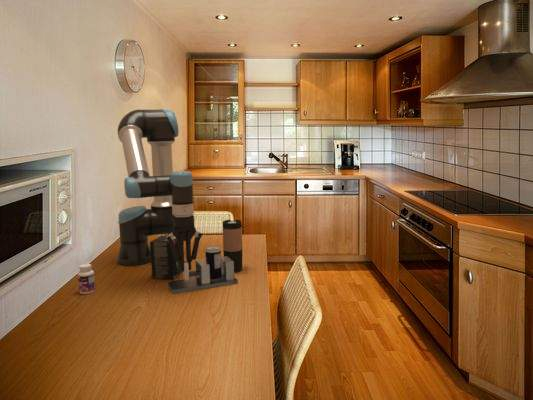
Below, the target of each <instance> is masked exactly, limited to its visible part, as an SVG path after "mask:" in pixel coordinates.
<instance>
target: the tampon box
mask: <svg viewBox="0 0 533 400" xmlns="http://www.w3.org/2000/svg"><path fill="white" fill-rule="evenodd" d="M166 236H167V235H159V236H158V237H156V238H155V239H152V240H150V241H149V246H150V252H151V262H150V263H151V265H150V266H151V278H152V279H162V280H163V279H165V280H174V279H176V278H177V277H178V276H180V275H181V274H183V271H181V270H180V262H176V261H175V259H174V256H173V253H172V250H171V246H170V243H169V241H168V240H167V238H166ZM173 238H174V239H173V242H174V245H175V248H176V251H177V254H178V258H179V243H178V240H177V239H176V237H175V236H173Z"/></svg>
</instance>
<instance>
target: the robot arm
mask: <svg viewBox="0 0 533 400" xmlns="http://www.w3.org/2000/svg"><path fill="white" fill-rule="evenodd" d="M179 135H180V134H179V123H178V120H177V115H176V114H175V112H174V111H173V110H171V109H163V108H161V109H135V110H131V111H129V112H128V113H126V114H125V115H124V116H123V117H122V118H121V120H120V121H119V123H118V126H117V136H118V137H117V138H118V140H119V141H120V142H121V144H122V149H123V154H124V160H125V165H126V170H127V177H125V178H124V179H123V180H124V181H123V182H124V183H123V185H124V195H125V197H126V198H127V199H144V198H153V202H151V204H150V208H148V209H147V207H146V206H144V205H137V206H133V207H132V206H131V207H127V208H124V209H122V210H120V212H119V213H118V229H119V244H120V245H119V249H118V251H117V252H118V253H117V257H116V262H117V264H118V265H120V266H121V265H122V266H139V265H145V264H148V263H151V252H150V242H149V237H150V236H163V235H165V236H166V238H167V240H168V241H169V243H170V246H171V250H172V253H173V256H174V259H175V261H176V262H180V270H181V271H183V272H182V275H183V277H182V278H183V279H184V280H185V281H186V280H189V278H190V277H189V271H192V261H194V260H197V255H198V251H199V245H200V241H201V238H202V237H203V234H202V233H201V231H197V229H196V228H195V227H196V226H195V216H194V214H195V211H194V209H195V208H194V180H193V173H192V172H191V171H187V170H180V171H178V170H177V171H174V170H173V151H172V149H173V148H172V147H173V146H172V145H173V144H174V143H175V142H176V140H175V139H176V138H177V137H179ZM142 138H143V139H144V138H145V139H146V142H147V143H148V144H149V145H150V150H151V169H152V176H150V171H149V167H148V163H147V158H146V154H145V150H144V145H143V141H142ZM173 236H175V237H176V239H177V240H178V243H179V258H178V254H177V251H176V248H175V245H174V242H173V239H174V238H173ZM193 237H194V241H193V244H192V238H193ZM184 244H185V246H184ZM191 245H192V246H191ZM184 247H185V248H184ZM185 257H186V260H185ZM183 279H182V280H183Z"/></svg>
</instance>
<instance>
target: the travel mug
mask: <svg viewBox="0 0 533 400" xmlns="http://www.w3.org/2000/svg"><path fill="white" fill-rule="evenodd" d="M242 228H243V226H242V220H239V219H236V220H231V219H226V220H222V250H223V251H222V252H223V253H222V254H223V257H224V256H227V257H228V258H230V259H231V260H232V261H234V274H235V273H241V272H242V271H243V232H242V230H243V229H242Z"/></svg>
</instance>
